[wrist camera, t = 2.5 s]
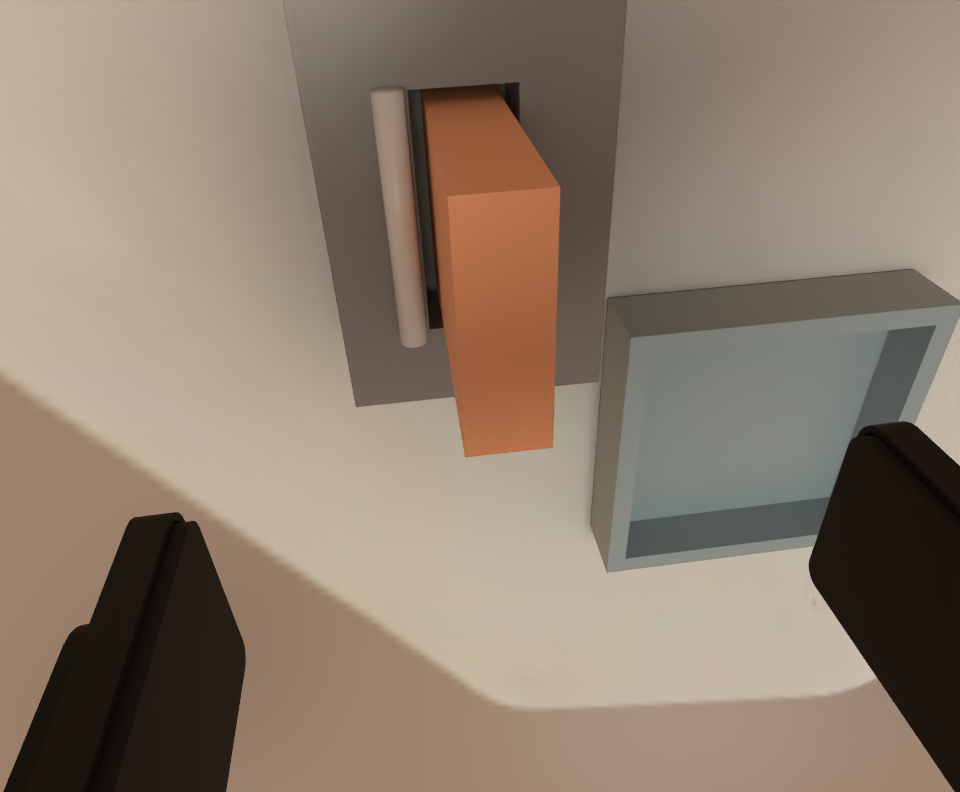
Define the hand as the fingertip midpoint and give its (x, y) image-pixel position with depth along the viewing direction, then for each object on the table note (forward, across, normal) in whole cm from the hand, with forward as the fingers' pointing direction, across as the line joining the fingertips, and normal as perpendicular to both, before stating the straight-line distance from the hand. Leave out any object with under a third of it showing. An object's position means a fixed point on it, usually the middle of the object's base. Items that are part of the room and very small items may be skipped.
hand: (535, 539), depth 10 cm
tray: (+16, -13, +11) cm, 24 cm away
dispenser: (+16, -1, -1) cm, 17 cm away
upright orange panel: (+14, -1, -1) cm, 14 cm away
